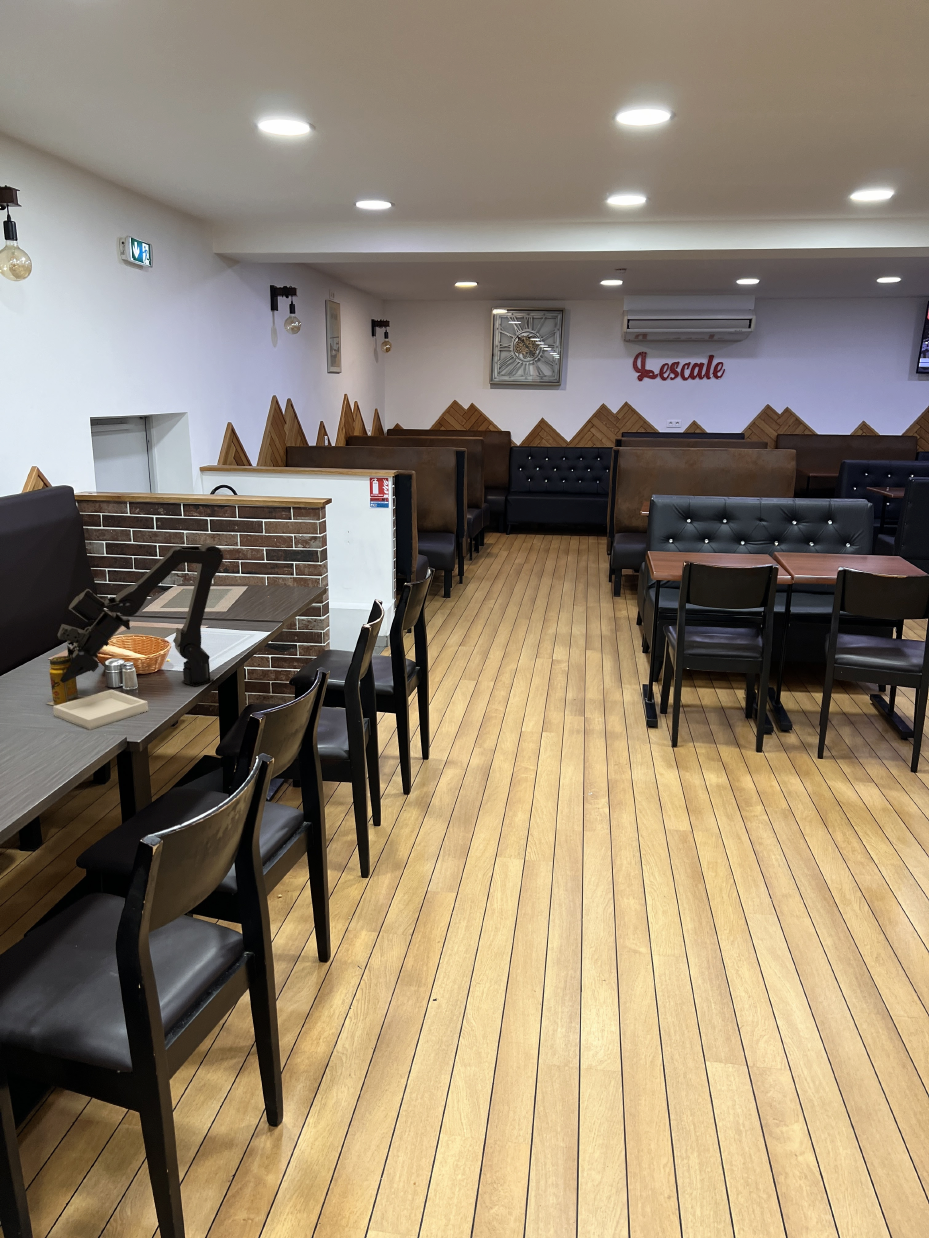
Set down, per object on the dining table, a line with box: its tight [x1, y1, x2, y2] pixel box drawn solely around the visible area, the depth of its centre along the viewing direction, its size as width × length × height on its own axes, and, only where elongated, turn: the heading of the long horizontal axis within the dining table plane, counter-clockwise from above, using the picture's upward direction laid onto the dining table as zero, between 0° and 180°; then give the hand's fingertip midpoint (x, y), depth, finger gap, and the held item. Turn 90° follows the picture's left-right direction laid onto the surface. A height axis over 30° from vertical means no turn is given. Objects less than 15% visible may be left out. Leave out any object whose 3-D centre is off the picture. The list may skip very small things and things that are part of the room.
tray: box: [52, 689, 149, 731], centre depth 215 cm, size 16×16×2 cm
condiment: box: [46, 655, 87, 706], centre depth 223 cm, size 7×8×12 cm
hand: (60, 678), depth 221 cm, fingers closed on condiment, 6 cm apart
